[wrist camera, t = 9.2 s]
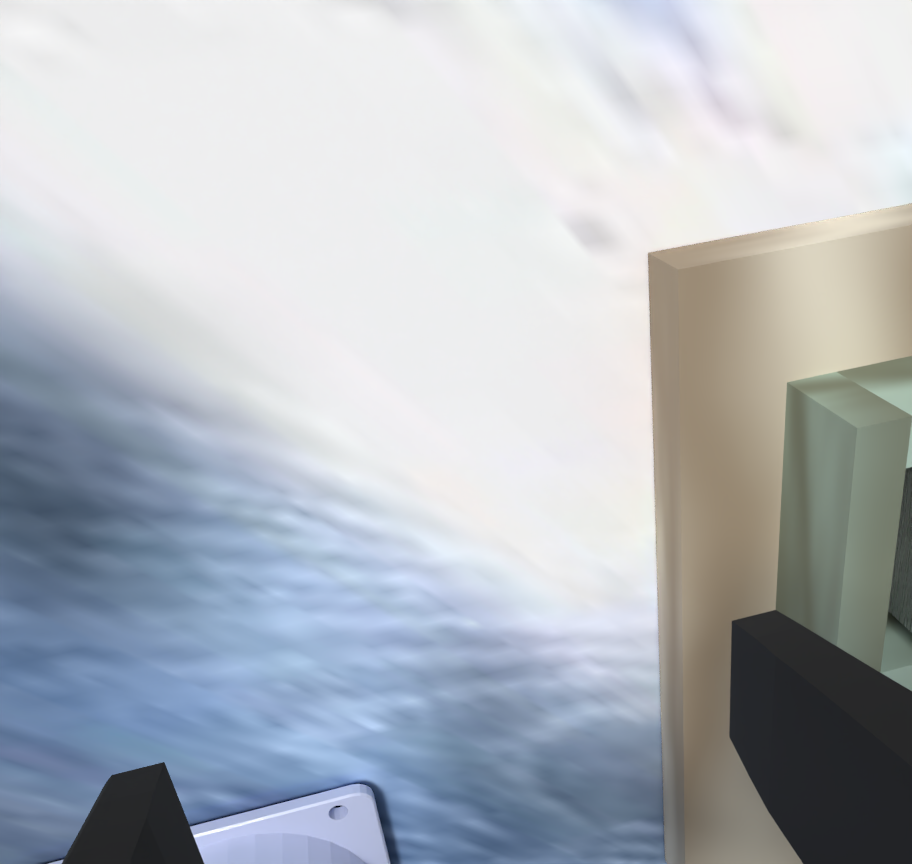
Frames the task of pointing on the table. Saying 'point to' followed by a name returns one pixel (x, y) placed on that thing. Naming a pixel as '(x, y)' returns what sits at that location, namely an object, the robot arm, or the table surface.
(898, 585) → the key peg
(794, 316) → the block
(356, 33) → the table surface
